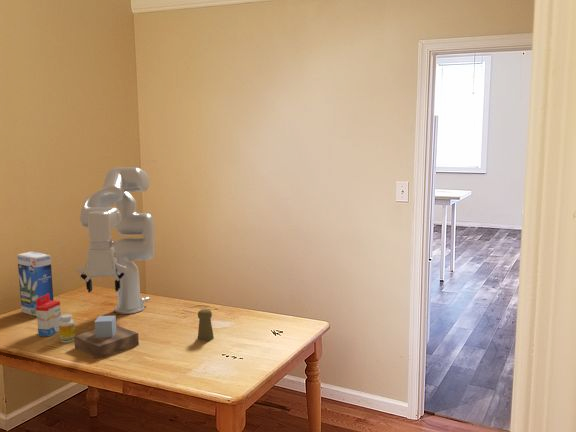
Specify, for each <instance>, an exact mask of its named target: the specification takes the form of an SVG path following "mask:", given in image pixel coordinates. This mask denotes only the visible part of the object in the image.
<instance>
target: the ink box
mask: <svg viewBox="0 0 576 432" xmlns="http://www.w3.org/2000/svg"><path fill="white" fill-rule="evenodd" d="M43 298H45V300H43V301H41V300H42V299H43ZM36 311H37V316H36V322H37V323H36V324H37V334H38V336H39V337H51V336H53V335H54V334H56V333H57V332H59V322H60V321H61V320H60V316H61V315H62V314H61V313H62V311H61V301H60V300H53V301H51V300H49V293H48V294H46V295H44V296H42V297H40V298H38V299H36Z"/></svg>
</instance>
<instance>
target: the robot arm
mask: <svg viewBox="0 0 576 432" xmlns="http://www.w3.org/2000/svg"><path fill="white" fill-rule="evenodd" d="M149 187H150V178H149V175H148V173H146V171H145V170H143V169H142V168H139V167H135V166H134V167H133V166H132V167H127V166H125V167H122V166H121V167H113V168H110V169H109V170H108V171H107V173H106V175H105V179H104V181H103V184H102V187H101V189H98V190H97V191H96V192H94V193H92V194H90V196H88V197H87V198H86V199H85V200H84V202H83V205H82V207H81V210H80V215H79V221H80V224H81V226H83V227H84V228H88V241H89V244H88V245H89V248H88V250H87V255H86V256H87V258H86V265H84V266H82V267H80V268H78V269H77V273H78V274H79V275H80V278H82V279H83V280H84V282H85V285H86V290H87V292H88V293H91V292H92V291H93V281H92V279H91V278H93V277H94V278H97V277H100V278H101V277H113V278H114V287H115V292H116V296H117V305H116V306H115V307H114V312H115V313H117V314H121V315H126V314H127V315H129V314H137V313H139V312H142V311H143V310H144V309H145V304H144V303H146V302H150V299H151V298H150V296H146V297H144V296H142V297H141V290H140V286H141V285H140V271H139V268H138V266H137V264H136V263H135V262H134V261H150V260H151V259H153V258H154V256H155V220H154V217H153V216H152V214H150V213H148V212H137V200H136V199H135V197H134V196H133V195H132V194H131V193H135V192H136V193H141V192H146V191H147V190H148V189H149ZM113 205H115V206H114V207H113ZM112 228H116V232H117V234H118V235H121V236H142V237H131V238H130V237H129V238H127V237H125V238H118V239H116V240H115V241H113V240H112V232H111V229H112ZM85 270H86V272H87V274H86V273H84V271H85Z"/></svg>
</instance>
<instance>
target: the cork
mask: <svg viewBox="0 0 576 432" xmlns="http://www.w3.org/2000/svg"><path fill="white" fill-rule="evenodd" d="M212 313H213V312H212V311H211V310H210V309H207V308H204V309H200V310H198V312H197V317H198V319H199V321H198V329H197V330H198V332H197V340H198V341H200V342H208V341H212V340H214V339H215V336H214V331H213V324H212V319H211V318H212V317H213V314H212Z"/></svg>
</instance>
